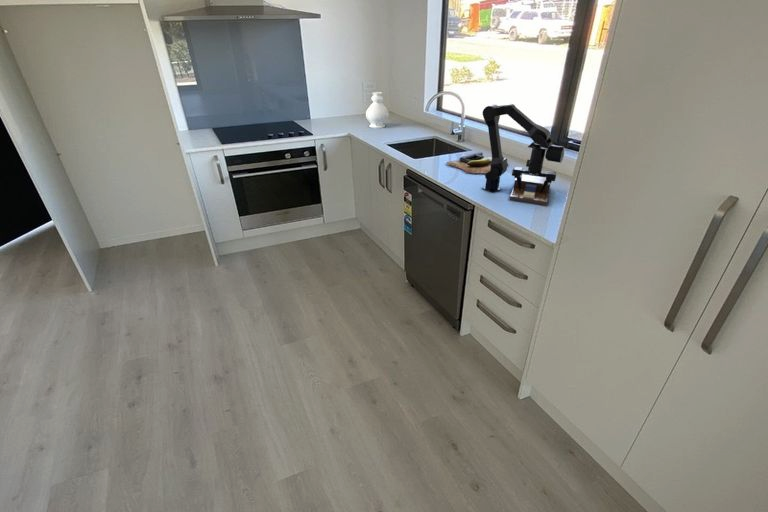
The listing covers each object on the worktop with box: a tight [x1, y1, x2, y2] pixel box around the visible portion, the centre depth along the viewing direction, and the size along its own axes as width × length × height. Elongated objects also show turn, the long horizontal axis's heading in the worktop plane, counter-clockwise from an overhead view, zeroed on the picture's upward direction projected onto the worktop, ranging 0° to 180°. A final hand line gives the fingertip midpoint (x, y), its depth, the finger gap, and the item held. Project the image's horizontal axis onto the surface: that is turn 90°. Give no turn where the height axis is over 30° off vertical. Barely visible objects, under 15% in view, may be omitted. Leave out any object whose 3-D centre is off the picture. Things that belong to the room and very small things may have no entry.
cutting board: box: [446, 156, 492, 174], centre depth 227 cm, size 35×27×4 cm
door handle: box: [458, 151, 492, 163], centre depth 233 cm, size 3×20×16 cm
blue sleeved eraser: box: [523, 184, 537, 198], centre depth 182 cm, size 9×5×4 cm, turn 157°
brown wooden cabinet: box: [509, 174, 552, 207], centre depth 188 cm, size 24×16×6 cm, turn 157°
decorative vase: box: [365, 91, 390, 129], centre depth 309 cm, size 18×18×25 cm
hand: (530, 191), depth 184 cm, fingers open, 9 cm apart
